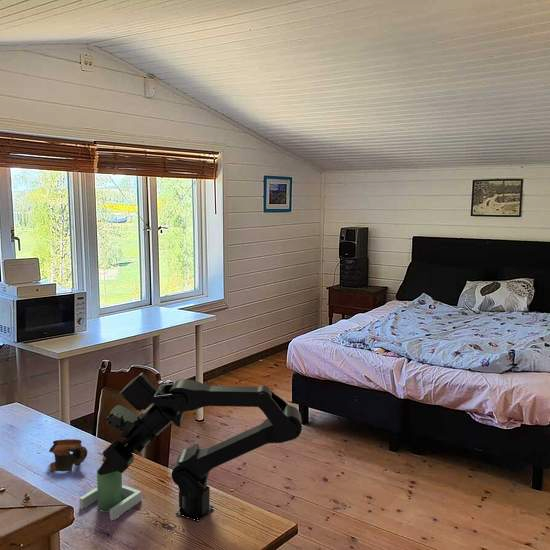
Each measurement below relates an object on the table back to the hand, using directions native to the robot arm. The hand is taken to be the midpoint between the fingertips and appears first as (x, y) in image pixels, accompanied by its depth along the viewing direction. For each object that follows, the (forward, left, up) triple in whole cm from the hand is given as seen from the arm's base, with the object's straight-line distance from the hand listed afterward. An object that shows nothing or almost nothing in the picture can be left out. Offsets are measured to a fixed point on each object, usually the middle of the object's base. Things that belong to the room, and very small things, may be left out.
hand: (107, 463), depth 131 cm
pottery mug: (+23, -9, -11) cm, 27 cm away
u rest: (0, 0, -10) cm, 11 cm away
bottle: (0, 0, -11) cm, 11 cm away
